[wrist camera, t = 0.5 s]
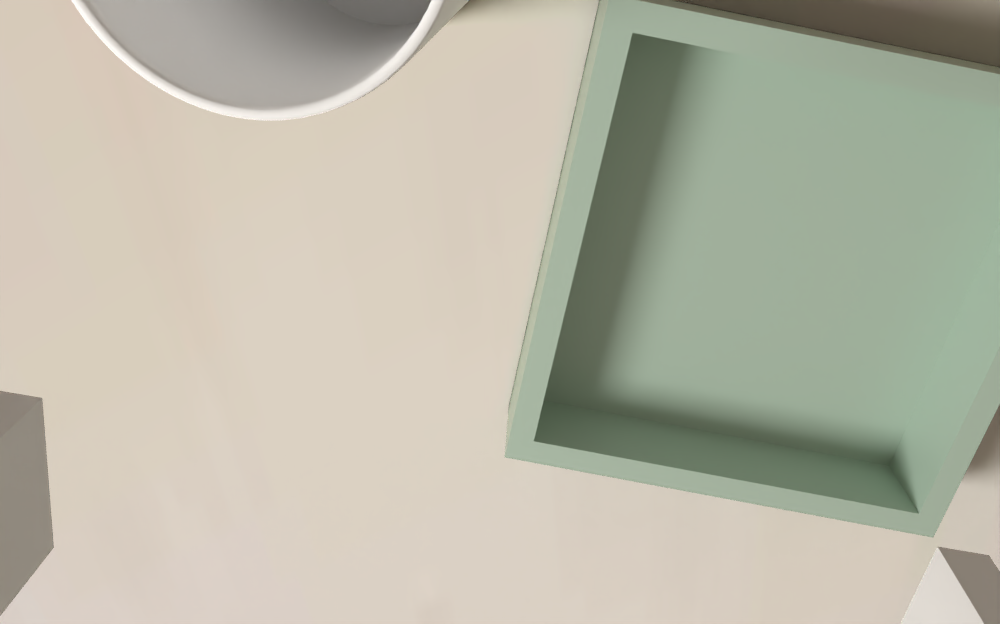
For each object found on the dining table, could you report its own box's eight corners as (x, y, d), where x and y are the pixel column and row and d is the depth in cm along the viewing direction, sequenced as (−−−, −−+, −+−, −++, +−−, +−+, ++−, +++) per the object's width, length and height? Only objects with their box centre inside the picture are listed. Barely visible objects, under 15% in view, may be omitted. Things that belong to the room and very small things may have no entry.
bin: (602, -15, 31) (609, -6, 28) (1080, 83, 32) (1149, 105, 28) (508, 406, 39) (504, 457, 35) (897, 480, 39) (933, 537, 36)
